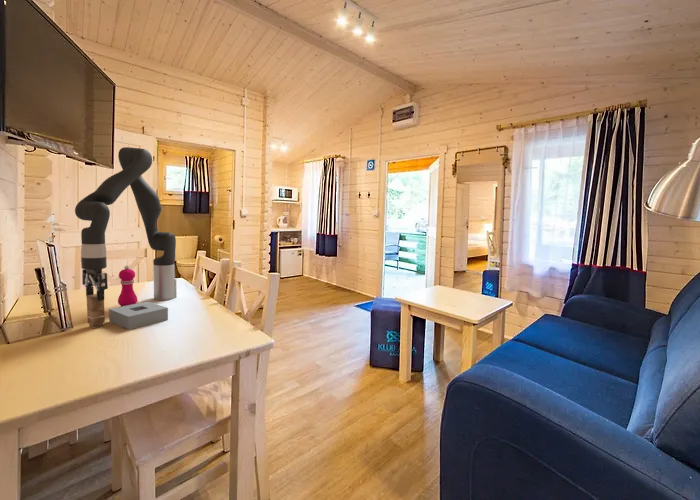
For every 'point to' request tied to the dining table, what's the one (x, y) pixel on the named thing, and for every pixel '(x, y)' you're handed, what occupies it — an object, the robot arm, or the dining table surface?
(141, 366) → the dining table surface
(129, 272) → the pepper mill
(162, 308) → the socket board
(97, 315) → the walnut peg
